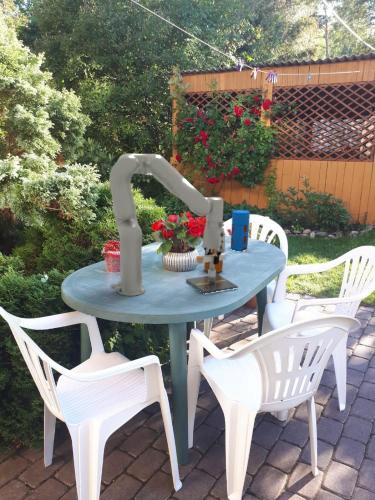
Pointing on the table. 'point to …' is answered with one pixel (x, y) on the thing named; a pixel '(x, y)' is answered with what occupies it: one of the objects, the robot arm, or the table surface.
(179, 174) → the robot arm
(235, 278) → the table surface
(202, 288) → the post base
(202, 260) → the t handle
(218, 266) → the wine bottle
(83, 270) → the table surface
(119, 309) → the table surface
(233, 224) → the thermos
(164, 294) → the table surface
